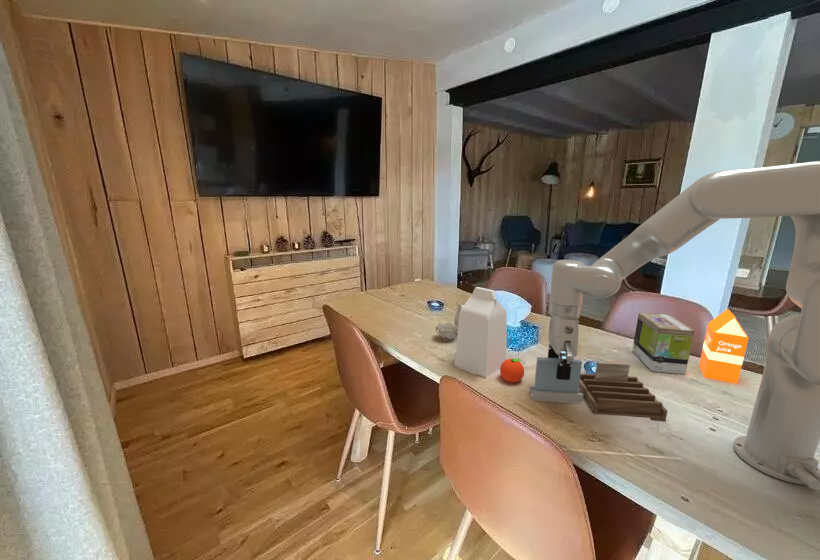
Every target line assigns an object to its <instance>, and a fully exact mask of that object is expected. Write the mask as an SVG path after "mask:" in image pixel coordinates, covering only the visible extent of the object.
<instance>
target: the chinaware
mask: <svg viewBox="0 0 820 560" xmlns="http://www.w3.org/2000/svg"><path fill="white" fill-rule="evenodd" d="M455 303H456V304H457V311H456V313H455V315H454V324H453V323H451V322H446V323H444V324H443V323H438V324H437V326H435V332H436V334H438V335H440V337H441V338H442V339H443V341H444V342H451V341H453V339H454V338H455V337H456V335H458V324H459V314H460V311H461V309H462V308H463V306H462V303H460V302H459V301H456V302H455ZM507 337H509V340H507V341H506V344H509V343H510V341H511V337H510V336H509V335H508V334H507Z"/></svg>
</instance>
